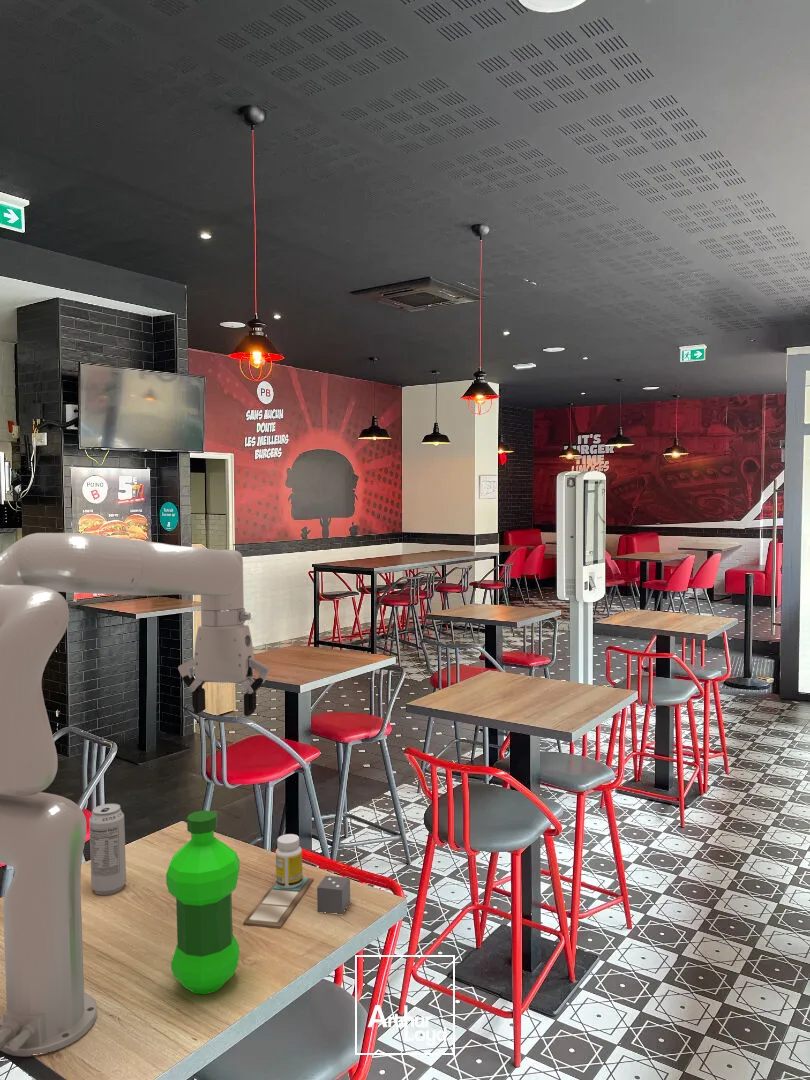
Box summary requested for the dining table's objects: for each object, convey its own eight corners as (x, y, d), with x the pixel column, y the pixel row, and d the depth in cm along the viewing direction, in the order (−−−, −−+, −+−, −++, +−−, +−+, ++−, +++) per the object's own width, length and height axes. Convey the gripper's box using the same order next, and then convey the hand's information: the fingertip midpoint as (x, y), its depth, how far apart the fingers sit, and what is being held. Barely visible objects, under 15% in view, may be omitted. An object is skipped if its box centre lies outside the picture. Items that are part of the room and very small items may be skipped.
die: (342, 915, 136) (341, 889, 136) (317, 913, 137) (316, 886, 137) (350, 902, 140) (349, 877, 140) (326, 900, 141) (325, 874, 141)
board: (280, 928, 132) (280, 924, 132) (243, 924, 133) (243, 920, 133) (313, 880, 149) (313, 876, 149) (280, 877, 150) (280, 873, 150)
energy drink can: (132, 881, 150) (129, 802, 149) (117, 897, 144) (114, 815, 143) (101, 880, 150) (98, 802, 150) (85, 895, 144) (82, 814, 144)
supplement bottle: (305, 877, 148) (304, 833, 148) (299, 889, 144) (298, 844, 143) (279, 876, 149) (278, 832, 148) (273, 889, 144) (272, 843, 144)
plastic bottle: (219, 955, 124) (215, 797, 123) (255, 984, 117) (251, 816, 115) (158, 982, 118) (153, 815, 116) (192, 1014, 110) (187, 836, 109)
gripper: (275, 616, 145) (277, 710, 146) (188, 615, 149) (190, 706, 149) (259, 622, 138) (261, 720, 138) (168, 620, 141) (170, 716, 142)
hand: (224, 713), depth 144 cm, fingers open, 9 cm apart
